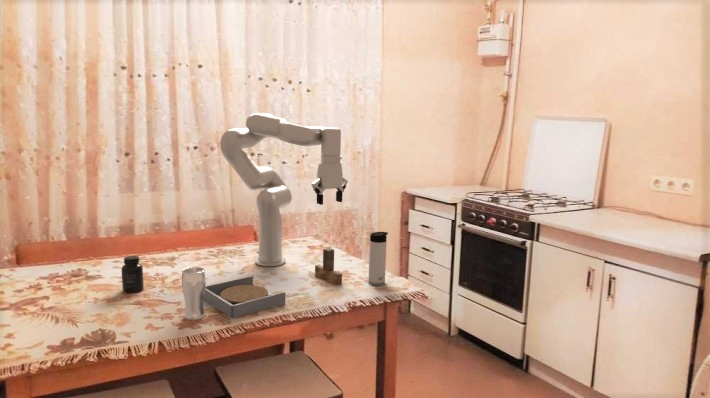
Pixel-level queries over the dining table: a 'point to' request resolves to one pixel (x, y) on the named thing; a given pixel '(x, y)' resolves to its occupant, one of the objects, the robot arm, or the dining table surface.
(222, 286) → the box
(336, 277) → the wooden t-shaped block
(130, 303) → the dining table surface
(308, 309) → the dining table surface
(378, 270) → the travel mug
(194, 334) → the dining table surface
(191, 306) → the beer glass
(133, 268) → the supplement bottle
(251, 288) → the wood log slice
